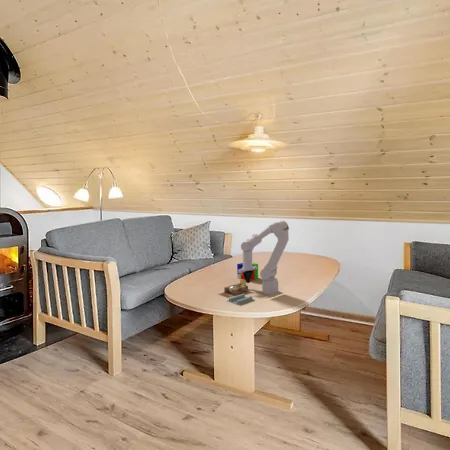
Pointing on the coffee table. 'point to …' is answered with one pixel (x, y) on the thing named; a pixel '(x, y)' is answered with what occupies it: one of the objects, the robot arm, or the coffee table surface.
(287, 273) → the coffee table surface
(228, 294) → the socket block
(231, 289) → the shiny metal cylinder
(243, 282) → the tan blocky piece
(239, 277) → the puzzle toy
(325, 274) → the coffee table surface
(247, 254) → the robot arm
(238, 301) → the rack
